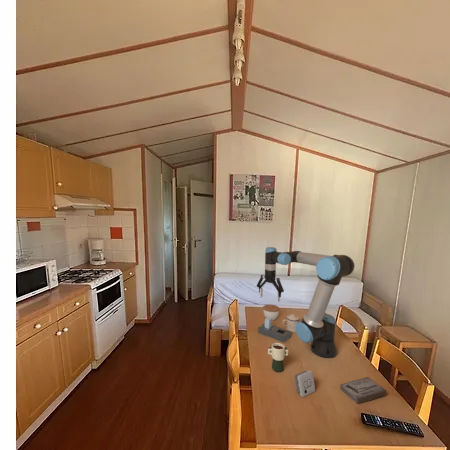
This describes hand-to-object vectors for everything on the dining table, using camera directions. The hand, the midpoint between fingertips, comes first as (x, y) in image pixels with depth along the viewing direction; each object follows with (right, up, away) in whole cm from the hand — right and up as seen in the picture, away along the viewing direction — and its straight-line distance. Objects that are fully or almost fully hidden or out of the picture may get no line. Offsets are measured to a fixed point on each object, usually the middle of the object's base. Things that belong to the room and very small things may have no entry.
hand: (269, 299), depth 180 cm
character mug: (-3, -27, -40) cm, 48 cm away
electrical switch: (+7, -28, -57) cm, 64 cm away
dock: (+1, -25, -22) cm, 33 cm away
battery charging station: (+3, -24, -2) cm, 24 cm away
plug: (-1, -24, +1) cm, 24 cm away
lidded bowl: (+5, -22, +24) cm, 33 cm away
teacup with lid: (+16, -24, +6) cm, 30 cm away
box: (+35, -29, -57) cm, 73 cm away
